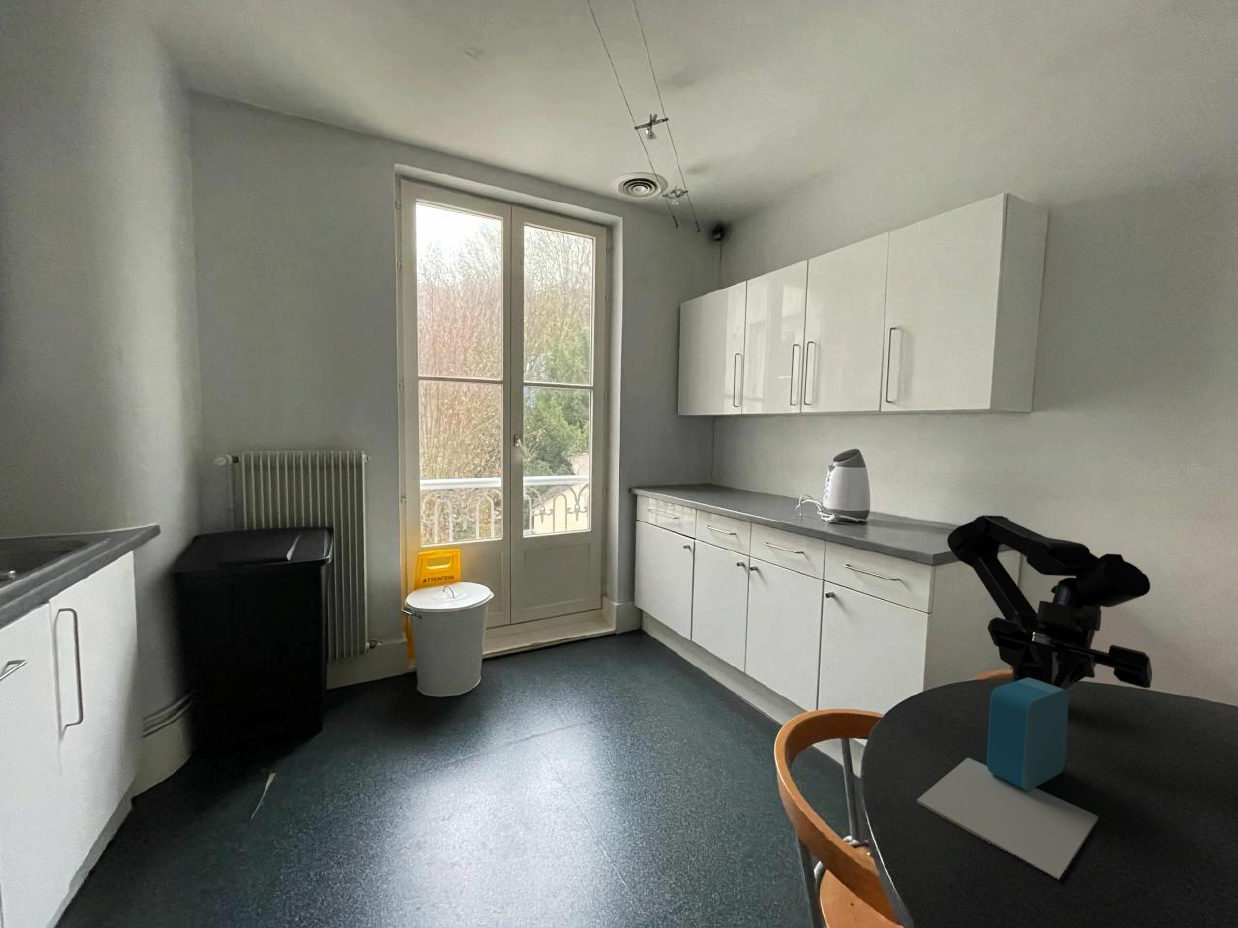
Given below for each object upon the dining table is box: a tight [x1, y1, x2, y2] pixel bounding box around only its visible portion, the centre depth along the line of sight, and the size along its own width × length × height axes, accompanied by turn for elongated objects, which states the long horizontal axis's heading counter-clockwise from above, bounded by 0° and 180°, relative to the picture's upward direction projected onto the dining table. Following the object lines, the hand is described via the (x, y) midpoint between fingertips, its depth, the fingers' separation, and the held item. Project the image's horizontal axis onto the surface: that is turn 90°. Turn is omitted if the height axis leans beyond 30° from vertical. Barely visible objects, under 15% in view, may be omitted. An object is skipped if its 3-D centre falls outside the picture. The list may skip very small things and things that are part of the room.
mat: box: [916, 757, 1099, 880], centre depth 62 cm, size 16×14×1 cm
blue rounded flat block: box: [986, 678, 1070, 791], centre depth 69 cm, size 12×4×12 cm, turn 118°
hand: (1050, 697), depth 74 cm, fingers closed
